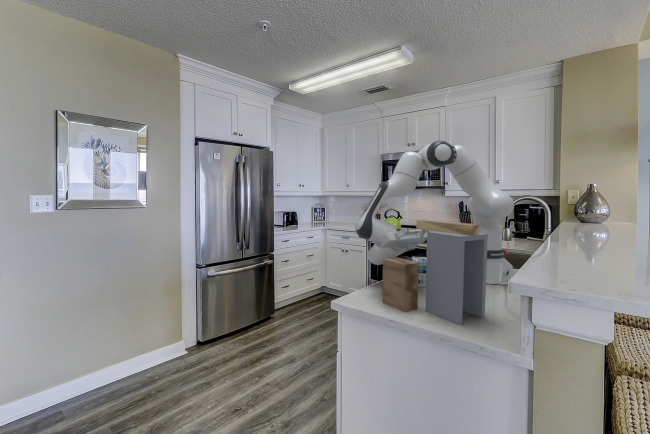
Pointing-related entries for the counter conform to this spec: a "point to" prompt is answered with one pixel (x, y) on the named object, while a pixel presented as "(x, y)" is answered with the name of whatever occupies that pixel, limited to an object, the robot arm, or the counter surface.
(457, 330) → the counter surface
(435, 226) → the oak slat
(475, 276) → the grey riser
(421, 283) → the light bulb box
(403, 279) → the walnut block
